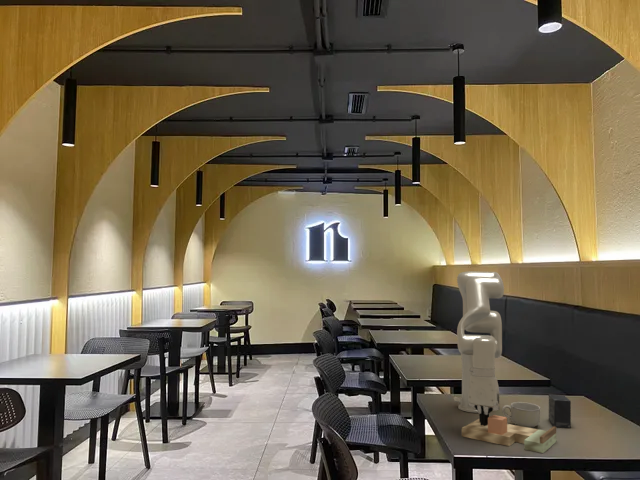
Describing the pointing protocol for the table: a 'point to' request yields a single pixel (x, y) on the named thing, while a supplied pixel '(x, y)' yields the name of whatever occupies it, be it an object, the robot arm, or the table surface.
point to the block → (497, 424)
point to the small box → (559, 411)
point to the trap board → (513, 436)
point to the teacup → (523, 414)
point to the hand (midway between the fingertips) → (484, 424)
